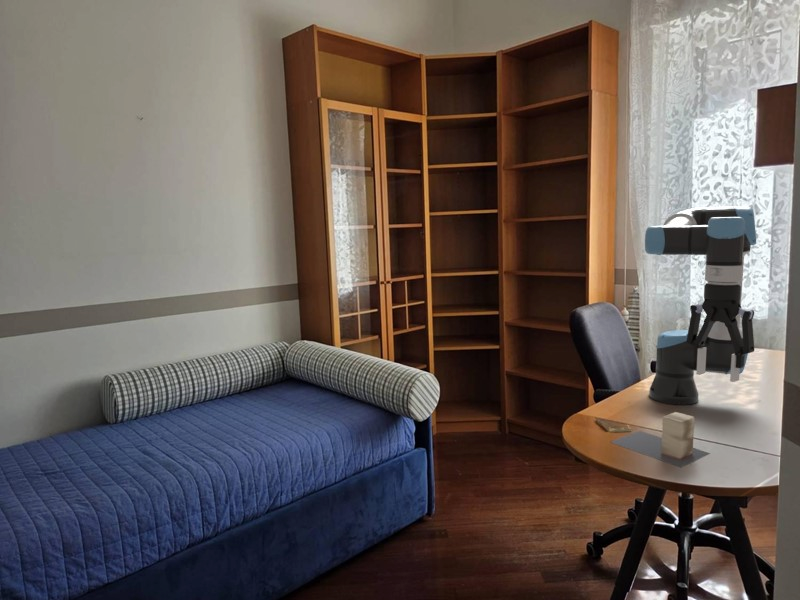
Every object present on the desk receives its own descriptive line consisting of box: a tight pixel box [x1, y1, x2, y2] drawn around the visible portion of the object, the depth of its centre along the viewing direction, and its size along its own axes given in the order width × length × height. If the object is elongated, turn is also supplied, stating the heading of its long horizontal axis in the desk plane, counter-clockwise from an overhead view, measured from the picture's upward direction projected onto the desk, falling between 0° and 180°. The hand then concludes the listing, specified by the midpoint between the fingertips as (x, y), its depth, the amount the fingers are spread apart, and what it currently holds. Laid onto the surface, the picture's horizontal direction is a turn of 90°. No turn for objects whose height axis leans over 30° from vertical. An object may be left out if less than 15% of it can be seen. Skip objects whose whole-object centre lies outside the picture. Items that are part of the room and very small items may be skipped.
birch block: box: [661, 411, 695, 460], centre depth 143 cm, size 6×5×10 cm
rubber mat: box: [610, 430, 711, 469], centre depth 148 cm, size 14×20×1 cm
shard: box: [594, 417, 633, 433], centre depth 165 cm, size 11×8×2 cm
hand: (717, 376), depth 134 cm, fingers open, 7 cm apart
